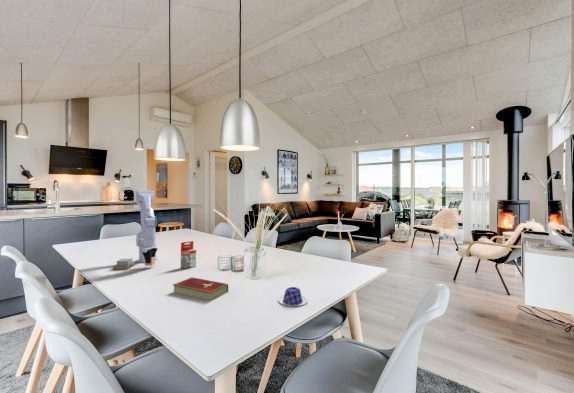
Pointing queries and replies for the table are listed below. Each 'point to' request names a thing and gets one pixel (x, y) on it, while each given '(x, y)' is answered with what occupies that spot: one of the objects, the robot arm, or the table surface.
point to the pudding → (292, 297)
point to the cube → (150, 262)
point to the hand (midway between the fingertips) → (149, 262)
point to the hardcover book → (200, 288)
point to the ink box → (188, 255)
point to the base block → (123, 267)
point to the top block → (124, 262)
